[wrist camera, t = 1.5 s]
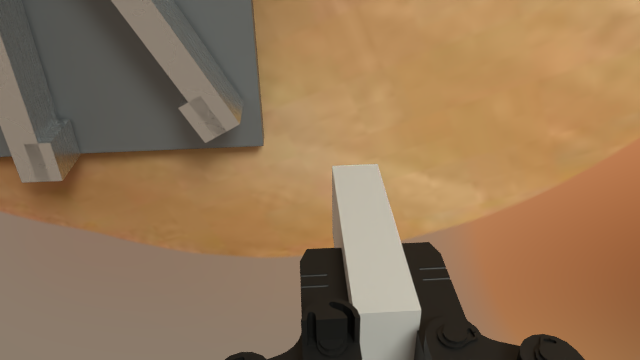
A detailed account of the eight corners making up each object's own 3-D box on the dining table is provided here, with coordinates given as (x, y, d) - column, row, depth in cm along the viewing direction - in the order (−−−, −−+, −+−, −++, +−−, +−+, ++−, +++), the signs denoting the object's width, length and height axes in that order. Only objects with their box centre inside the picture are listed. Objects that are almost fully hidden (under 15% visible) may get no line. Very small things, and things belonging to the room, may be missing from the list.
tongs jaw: (19, -139, 24) (-14, -139, 21) (56, -168, 23) (28, -171, 21) (211, 119, 31) (205, 143, 28) (243, 101, 30) (239, 124, 28)
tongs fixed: (-80, -209, 22) (-153, -222, 19) (-2, -210, 22) (-59, -223, 19) (44, 154, 32) (12, 194, 28) (98, 152, 32) (74, 191, 28)
